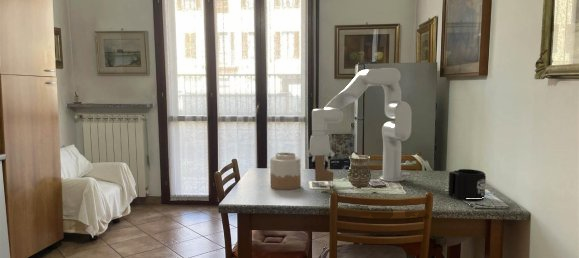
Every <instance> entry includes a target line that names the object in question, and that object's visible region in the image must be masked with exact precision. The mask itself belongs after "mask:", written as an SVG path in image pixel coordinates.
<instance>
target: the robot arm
mask: <svg viewBox="0 0 579 258" xmlns="http://www.w3.org/2000/svg"><path fill="white" fill-rule="evenodd" d="M401 78H402V74H401V72H400V70H398V68H396V67H381V68H370V69H369V68H367V69H365V68H364V69H362V70H360V71H359V72H358V73H357V74H356V75H355V76H354V77H353V79H352V80H351V81H350V82H349V83H348V85H347V86H346V87H345V88H344V89H343V90H341V91H340V92H339V93H338V94H336V95H335V96H334V97H332V98H331V100H330V101H328V103H327V104H326V105H325V106H324V108H314V109H312V110H311V135H310V139H309V149H308V150H307V151H306V153H305V157H307V158H308V159H309V160H310V161H311V163H312V164H311V165H312V168H313V170H315V156H321V155H324V166H325V169H327V170H328V167H329V161H330V160H331V159H332V157H334V156H335V152H334V151H333V150H332V149H331V146H330V145H331V144H330V137H329V134H331V130H328V123H330V124H331V123H332V124H337V123H338V124H339V123H340V122H341V121H342V120H343V119H344V113H343V111H342V109H343V108H344V107H346V106H347V105H350V104H352V103H354V102H356V101H358V100H359V98H360V97H362V95H363V94H364V93H365V91H366V90H367V89H368V88H369V87H379V86H381V87H382V89H383V91H384V115H385V117H387V118H389V119H394V120H389V121H386V122H385V123H383V125H382V127H381V135H382V144H383V145H382V147H383V149H382V175H379V179H380V180H381V181H383V182H392V183H394V182H397V183H398V182H403V181H404V177H410V176H411V173H410V172H404V171H402V141H403V142H404V141H407V140H408V139H409V138H410V136H411V135H412V118H413V117H412V115H413V114H412V113H413V112H412V108H411V106H410V104H409V103H408V102H406V101H402V88H401V85H400V83H399V82H400V81H401Z"/></svg>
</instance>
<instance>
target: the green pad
mask: <svg viewBox="0 0 579 258" xmlns="http://www.w3.org/2000/svg"><path fill="white" fill-rule="evenodd" d="M332 185H333V187H334V189H354V186H353V184H352V183H351V182H350V181H332Z"/></svg>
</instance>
